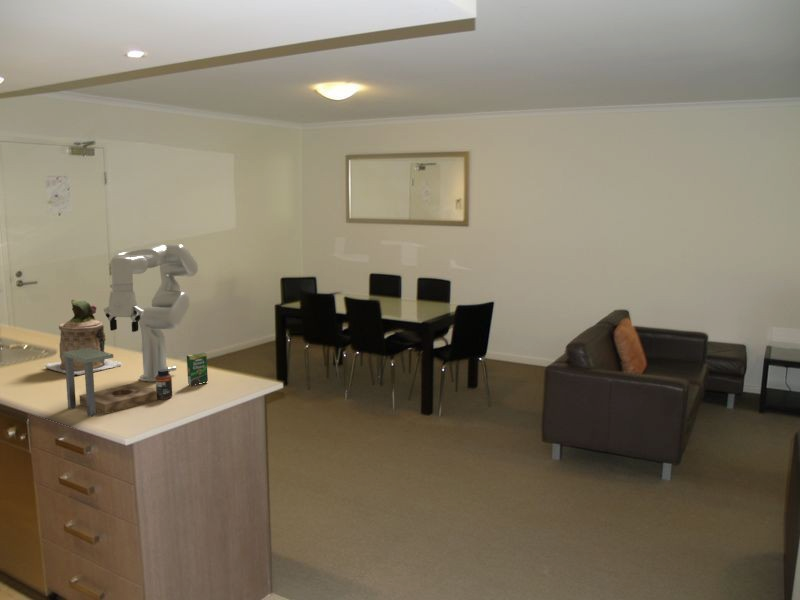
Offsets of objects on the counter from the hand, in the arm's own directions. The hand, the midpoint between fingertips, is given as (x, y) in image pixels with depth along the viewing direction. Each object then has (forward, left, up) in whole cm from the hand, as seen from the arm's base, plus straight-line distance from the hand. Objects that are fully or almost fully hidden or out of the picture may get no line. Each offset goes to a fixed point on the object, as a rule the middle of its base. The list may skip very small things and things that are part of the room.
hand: (124, 330), depth 257 cm
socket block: (+9, +9, -26) cm, 29 cm away
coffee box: (-25, +11, -26) cm, 38 cm away
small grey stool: (+20, +9, -26) cm, 34 cm away
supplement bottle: (-5, +17, -26) cm, 31 cm away
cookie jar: (-10, -53, -26) cm, 59 cm away
